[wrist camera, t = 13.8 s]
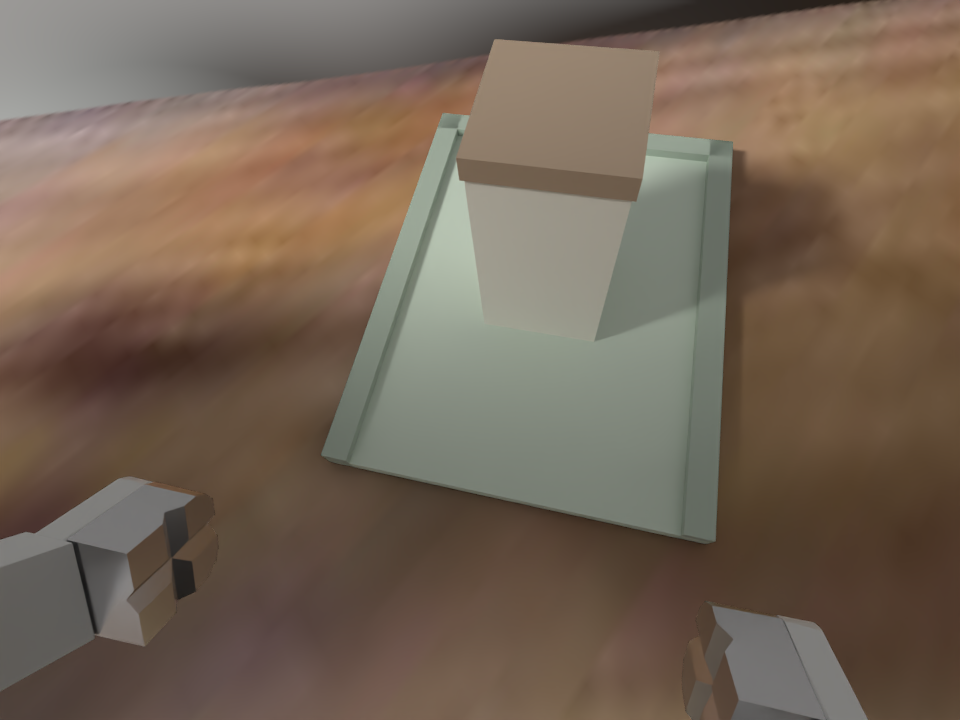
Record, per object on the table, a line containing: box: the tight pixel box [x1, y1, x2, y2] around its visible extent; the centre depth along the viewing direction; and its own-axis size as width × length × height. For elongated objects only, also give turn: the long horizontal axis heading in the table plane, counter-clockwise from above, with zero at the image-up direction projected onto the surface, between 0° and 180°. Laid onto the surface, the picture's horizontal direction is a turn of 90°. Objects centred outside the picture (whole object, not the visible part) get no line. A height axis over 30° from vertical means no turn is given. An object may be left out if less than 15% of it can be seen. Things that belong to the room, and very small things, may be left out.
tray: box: [321, 113, 733, 544], centre depth 22 cm, size 14×18×1 cm
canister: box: [456, 39, 660, 342], centre depth 18 cm, size 5×5×9 cm
